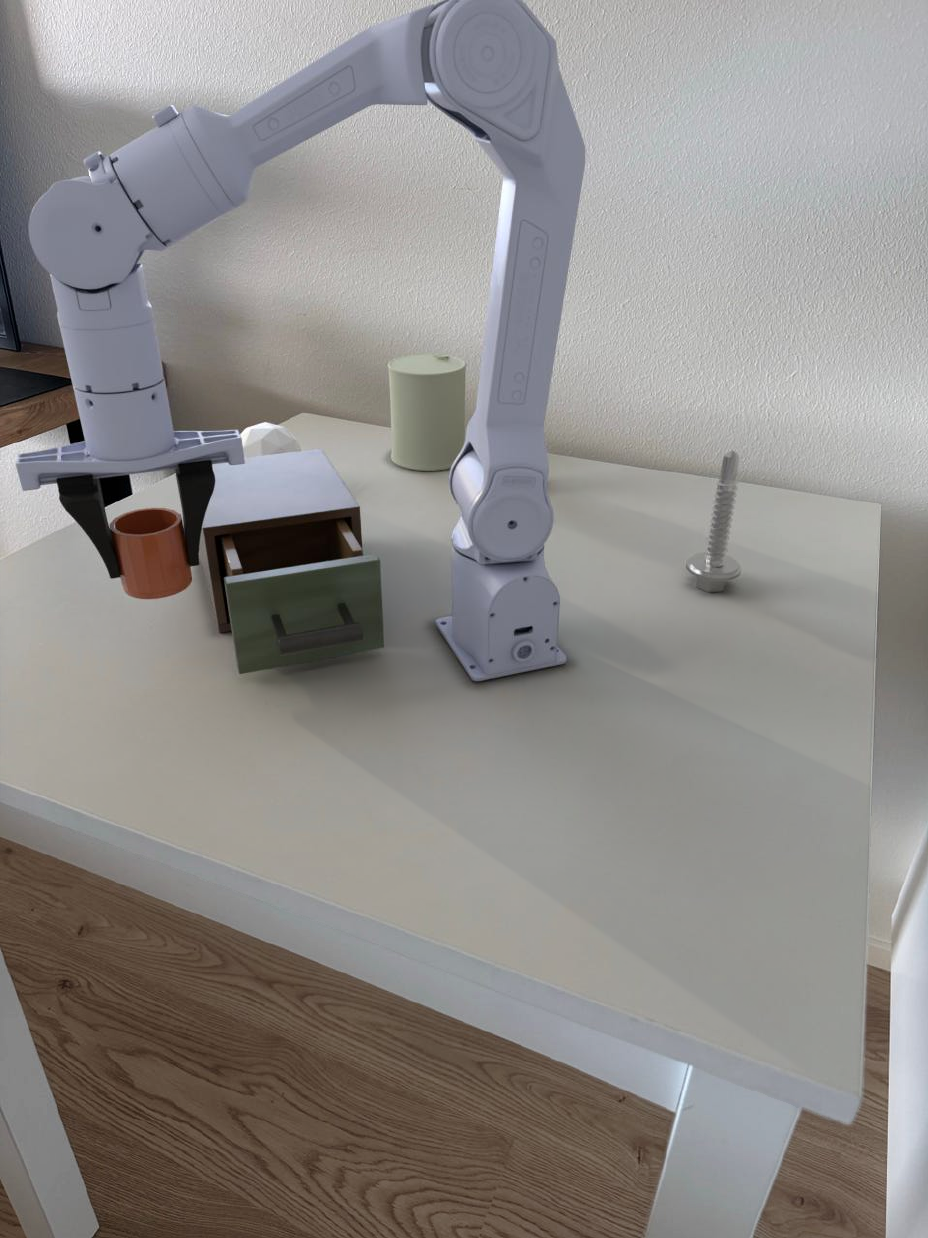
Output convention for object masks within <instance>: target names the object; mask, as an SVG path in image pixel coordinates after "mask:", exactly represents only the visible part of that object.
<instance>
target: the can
mask: <svg viewBox="0 0 928 1238" xmlns="http://www.w3.org/2000/svg"><path fill="white" fill-rule="evenodd" d="M387 369H388V380H389V381H388V382H389V399H390V401H389V402H390V403H389V404H390V427H391V429H390V430H391V454H390V459H391V461H392V463H393V464H394V465H396V466H398V467H400V468H403V469H406V470H410V471H411V470H412V471H417V472H438V471H446V470H451V467H452V464H453V462H454V461H455V459H456V458H457V456H458V455H459V453H460V452H461V450H462V448H463V445H464V442H465V438H466V369H467V363H466V361H465V360H464V359H462V358H460V357H458V356H454V355H450V354H442V353H413V354H406V355H400V356H398V357H395V358H393V359H391V360H389V362H388V363H387Z"/></svg>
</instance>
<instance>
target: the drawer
mask: <svg viewBox="0 0 928 1238" xmlns="http://www.w3.org/2000/svg"><path fill="white" fill-rule="evenodd" d="M217 539H218V546H219V553H220V560H221V566H222V573H223V580H224V586H225V591H226V596H227V602H228V609H229V616H230V623H231V629H232V631H231V635H232V643H233V649H234V655H235V662H236V667H237V672H238V674H239V675H244V674H249V673H250V674H251V673H254V672H260V671H265V670H271V669H275V668H276V669H277V668H282V667H286V666H287V667H288V666H292V665H298V664H303V663H308V662H313V661H318V660H324V659H329V658H335V657H339V656H343V655H345V656H346V655H351V654H355V653H361V652H366V651H371V650H377V649H382V648H383V649H384V648H385V637H384V636H385V634H384V614H383V594H382V593H383V592H382V576H381V575H382V574H381V573H382V572H381V571H382V570H381V560H380V558H379V557H378V555H377V553H372V554H366V555H364V550H363V547H362V548H361V546H360V545H359V543H358V541H357V540H356V538H355V537H354V535H353V533H352V532H351V530H350V528H349V527H348V525H347V523H346V522H345V520H344V518H337V519H330V520H323V521H316V522H309V523H301V524H294V525H287V526H280V527H273V528H266V529H259V530H252V531H245V532H238V533H231V534H224V535H217Z"/></svg>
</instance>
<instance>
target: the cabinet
mask: <svg viewBox="0 0 928 1238" xmlns="http://www.w3.org/2000/svg"><path fill="white" fill-rule="evenodd" d="M244 460H245V463H244V464H239V465H230V464H229V463H228V462H227V463H219V464H212V467H213V472H214V475H215V487H214V491H213V494H212V496H211V499H210V501H209V504H208V507H207V510H206V513H205V517H204V521H203V525H202V530H201V536H200V545H199V561H200V563H201V567H202V571H203V575H204V579H205V583H206V586H207V591H208V594H209V599H210V602H211V606H212V610H213V614H214V618H215V623H216V626H217V630H218V634H222V633H228V632H232V629H231V623H230V616H229V609H228V602H227V596H226V591H225V586H224V580H223V573H222V566H221V560H220V553H219V546H218V539H217V535H224V534H231V533H238V532H245V531H252V530H259V529H266V528H273V527H280V526H287V525H294V524H301V523H309V522H316V521H323V520H330V519H337V518H344V520H345V522H346V523H347V525H348V527H349V528H350V530H351V532H352V533H353V535H354V537H355V538H356V540H357V541H358V543H359V545H360V546H361V548H362V549H363V538H362V537H363V535H362V534H363V533H362V518H361V507H360V506H361V505H359V503H358V501H357V500H356V499H355V497H354V495H353V494H352V492H350V490H349V488H348V486H347V485H346V483H345V482H344V480H343V479H342V477H341V476H340V474H339V473H338V471H337V470H336V469H335V466H333V463H332V462H331V461H330V460H329V458H328V455H326V453H325V451H324V450H323V449H322V448H316V449H307V450H301V451H297V452H289V453H280V454H272V455H263V456H255V457H246V458H244Z"/></svg>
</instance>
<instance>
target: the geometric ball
mask: <svg viewBox="0 0 928 1238" xmlns="http://www.w3.org/2000/svg"><path fill="white" fill-rule="evenodd" d="M239 434H240V436H241V438H242V445H243V452H244V458H246V457H255V456H263V455H272V454H280V453H289V452H297V451H302V450H301V446H300V444H299V441H298V439H297V438H296V437H295V436H294V435H293V434H292V433H291V432H290V431H289V430H288V429H287V428H286V426H282V425H278V424H274V423H271V422H268V421H265V422H261V423H257V424H255V425H252V426H248V427H246V428H245V429H244V430H243V431H242V432H241V433H239Z"/></svg>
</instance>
